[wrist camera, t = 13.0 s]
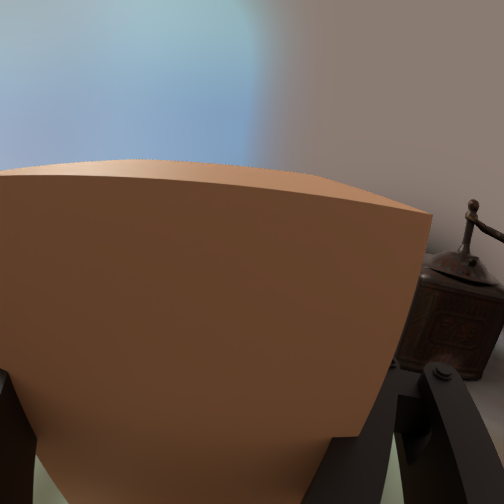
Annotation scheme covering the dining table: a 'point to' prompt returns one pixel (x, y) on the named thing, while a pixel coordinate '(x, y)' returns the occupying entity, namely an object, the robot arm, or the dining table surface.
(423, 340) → the brown manual coffee grinder
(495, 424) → the dining table surface
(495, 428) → the dining table surface
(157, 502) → the terracotta block
